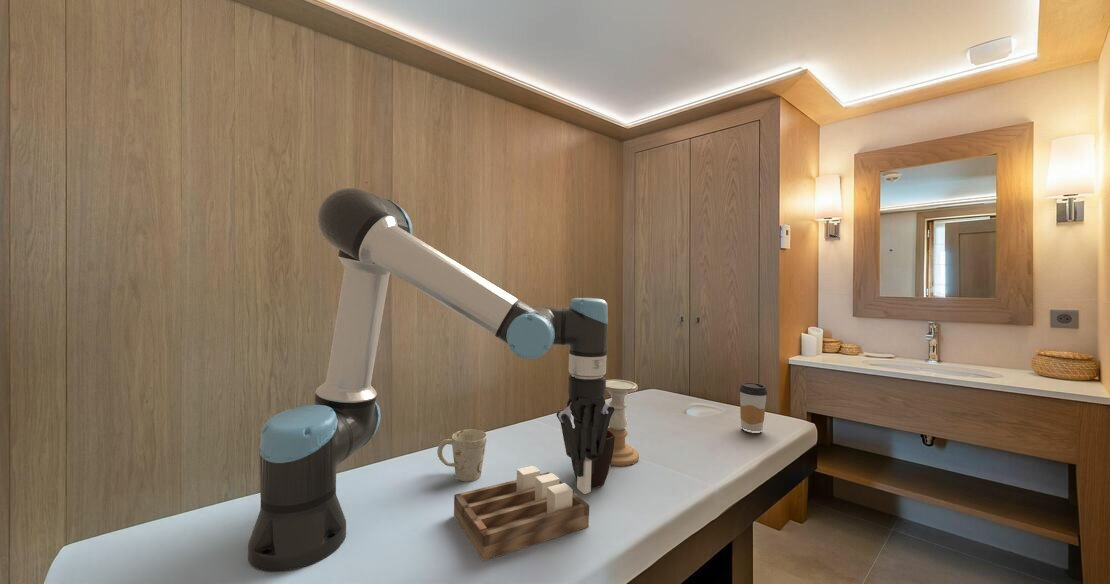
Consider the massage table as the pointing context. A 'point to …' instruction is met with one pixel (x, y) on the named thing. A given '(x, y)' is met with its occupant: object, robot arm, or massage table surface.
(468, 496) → the wooden compartment tray
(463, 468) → the mug
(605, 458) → the mug
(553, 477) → the tab mid
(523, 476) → the tab far
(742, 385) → the coffee cup
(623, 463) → the candle holder
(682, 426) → the massage table surface
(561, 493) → the tab near
